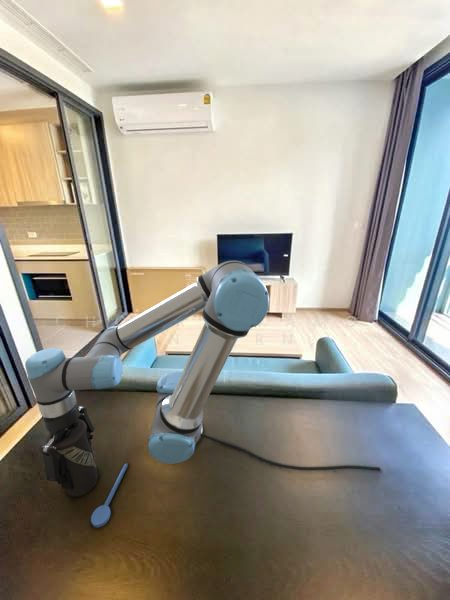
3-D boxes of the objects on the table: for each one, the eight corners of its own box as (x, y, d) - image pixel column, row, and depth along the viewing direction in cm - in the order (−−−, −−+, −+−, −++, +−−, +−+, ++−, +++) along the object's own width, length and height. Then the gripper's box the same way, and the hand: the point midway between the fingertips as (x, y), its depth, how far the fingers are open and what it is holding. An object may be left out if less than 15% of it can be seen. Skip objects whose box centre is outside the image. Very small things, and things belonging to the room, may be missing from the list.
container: (85, 501, 66) (68, 447, 59) (56, 494, 68) (36, 440, 61) (105, 470, 74) (93, 418, 67) (79, 464, 76) (64, 413, 69)
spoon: (120, 464, 76) (119, 461, 76) (134, 466, 76) (133, 463, 75) (87, 526, 61) (86, 523, 61) (104, 528, 61) (103, 525, 60)
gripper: (74, 379, 72) (89, 438, 80) (7, 443, 53) (36, 512, 61) (98, 381, 71) (111, 440, 79) (39, 447, 52) (65, 516, 60)
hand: (79, 471), depth 70 cm, fingers closed on container, 8 cm apart
